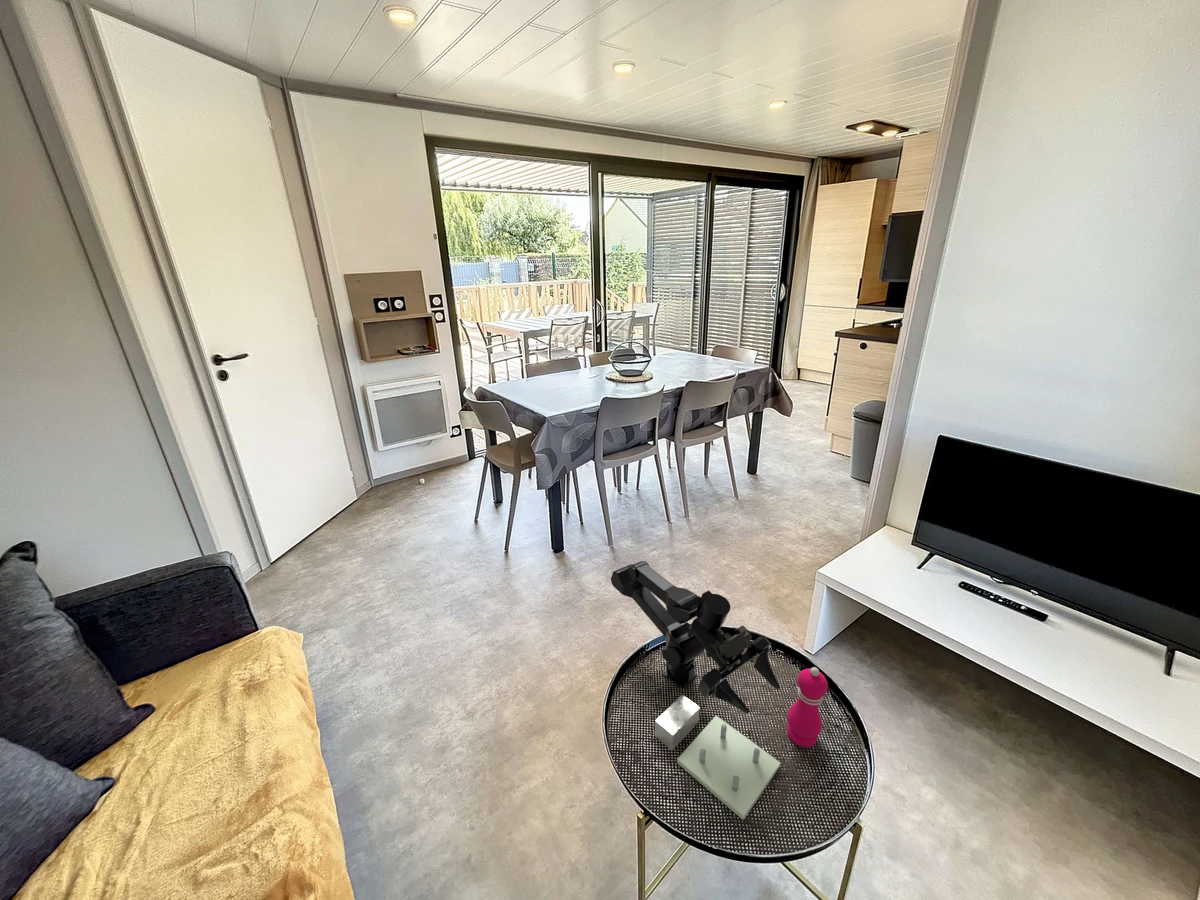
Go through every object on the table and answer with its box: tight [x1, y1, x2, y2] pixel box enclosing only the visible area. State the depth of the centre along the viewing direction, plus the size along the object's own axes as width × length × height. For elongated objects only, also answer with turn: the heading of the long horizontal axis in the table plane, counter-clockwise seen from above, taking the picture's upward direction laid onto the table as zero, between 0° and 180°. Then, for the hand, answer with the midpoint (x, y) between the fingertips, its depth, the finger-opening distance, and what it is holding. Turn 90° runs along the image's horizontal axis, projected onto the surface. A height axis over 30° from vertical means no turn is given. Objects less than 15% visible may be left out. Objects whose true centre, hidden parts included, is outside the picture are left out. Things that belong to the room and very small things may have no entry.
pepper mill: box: [786, 666, 829, 748], centre depth 105 cm, size 7×7×20 cm
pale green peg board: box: [676, 715, 781, 821], centre depth 102 cm, size 16×15×4 cm
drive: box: [654, 694, 700, 751], centre depth 110 cm, size 10×5×5 cm, turn 134°
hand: (764, 700), depth 101 cm, fingers open, 9 cm apart
